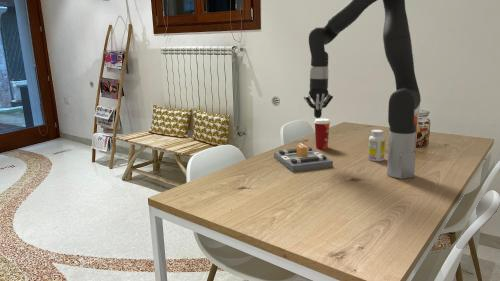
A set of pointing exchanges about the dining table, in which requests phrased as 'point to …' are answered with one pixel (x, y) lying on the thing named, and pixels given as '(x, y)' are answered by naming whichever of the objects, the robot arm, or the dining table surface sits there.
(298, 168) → the breaker panel
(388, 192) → the dining table surface
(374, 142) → the supplement bottle
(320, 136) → the paper cup
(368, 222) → the dining table surface
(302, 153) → the block
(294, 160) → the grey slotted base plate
